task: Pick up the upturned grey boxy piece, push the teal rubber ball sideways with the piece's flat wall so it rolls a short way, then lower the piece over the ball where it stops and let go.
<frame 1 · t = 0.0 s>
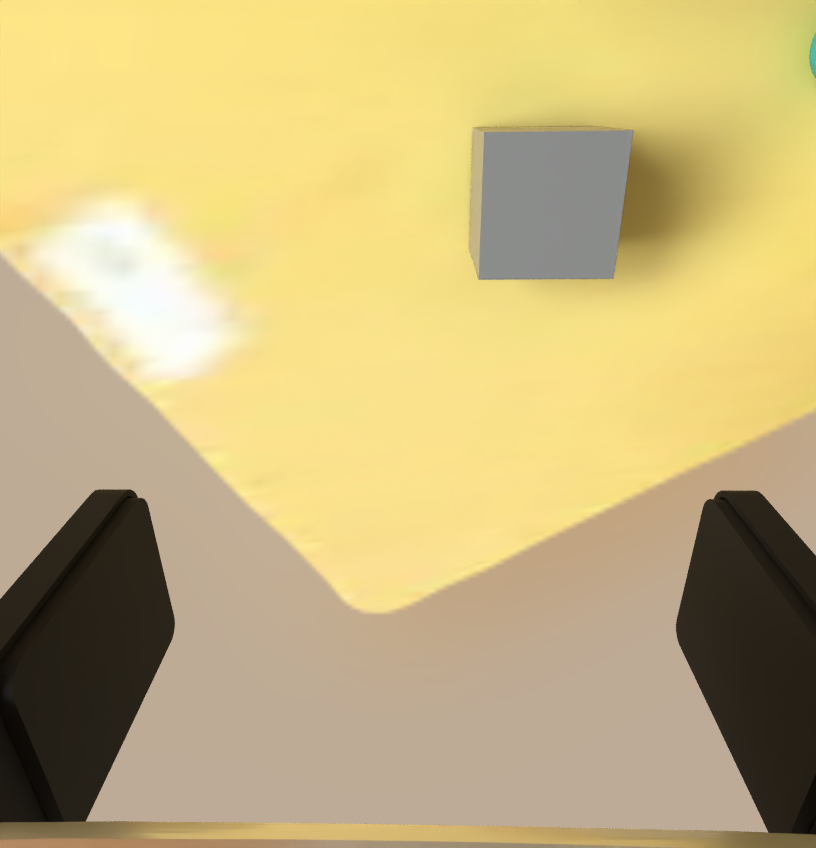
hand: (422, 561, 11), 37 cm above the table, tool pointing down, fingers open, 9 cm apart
grey boxy piece: (528, 190, 42), on the table
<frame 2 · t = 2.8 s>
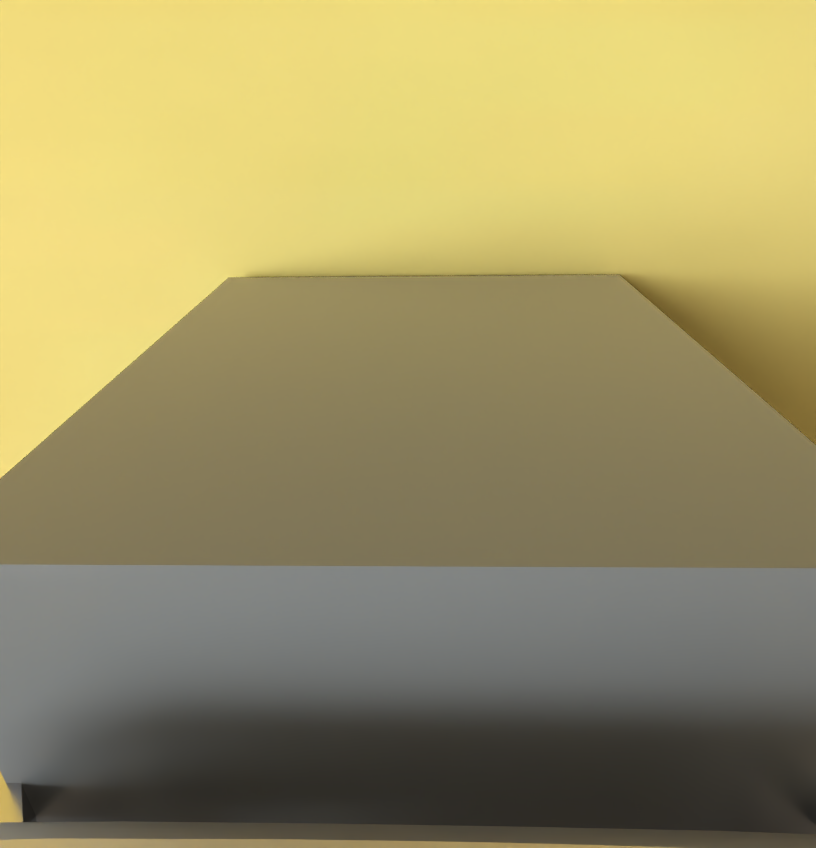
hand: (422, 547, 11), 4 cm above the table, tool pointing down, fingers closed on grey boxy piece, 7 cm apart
grey boxy piece: (422, 447, 14), on the table, touching gripper
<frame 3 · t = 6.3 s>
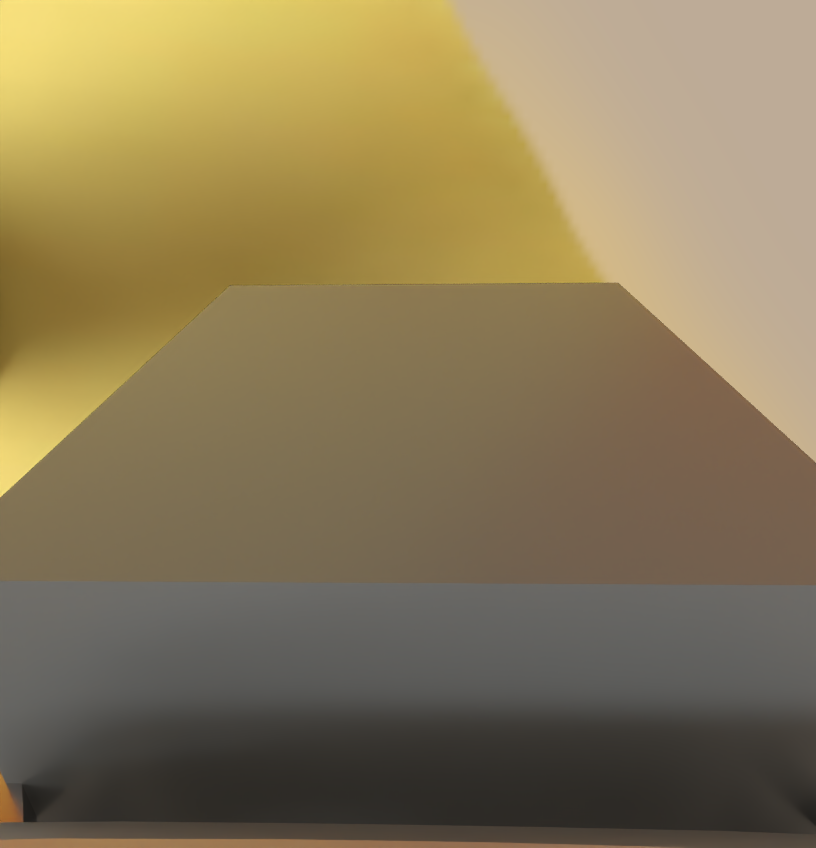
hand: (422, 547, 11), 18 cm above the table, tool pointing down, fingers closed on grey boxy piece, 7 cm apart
grey boxy piece: (422, 453, 14), point 14 cm above the table, touching gripper
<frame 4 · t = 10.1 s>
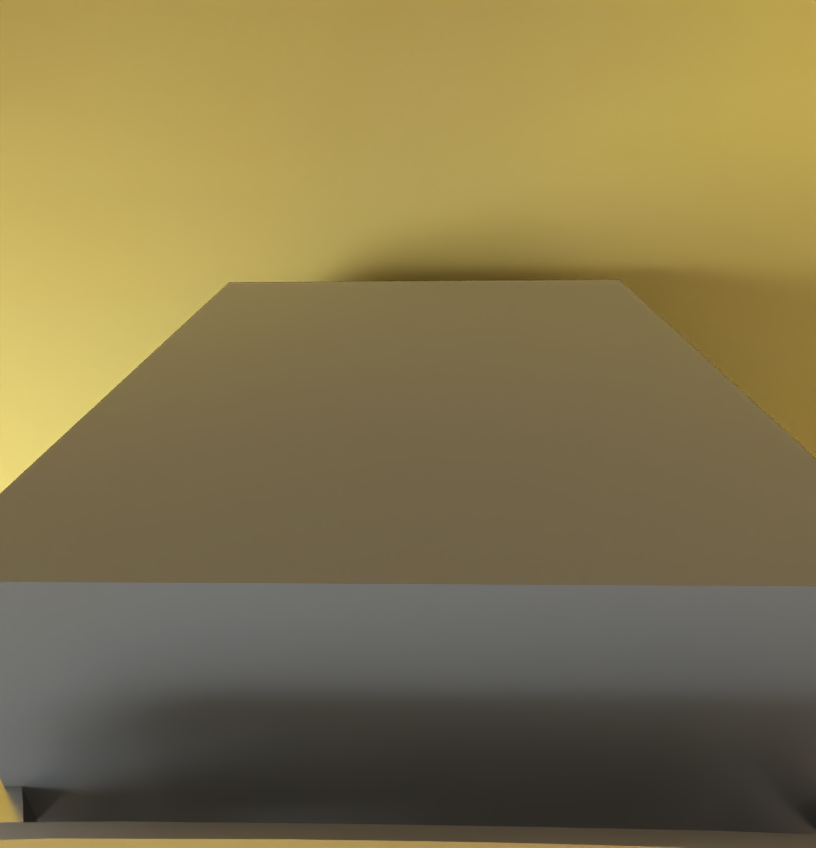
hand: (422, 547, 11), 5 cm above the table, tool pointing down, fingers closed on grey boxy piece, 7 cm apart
grey boxy piece: (423, 451, 14), point 1 cm above the table, touching gripper
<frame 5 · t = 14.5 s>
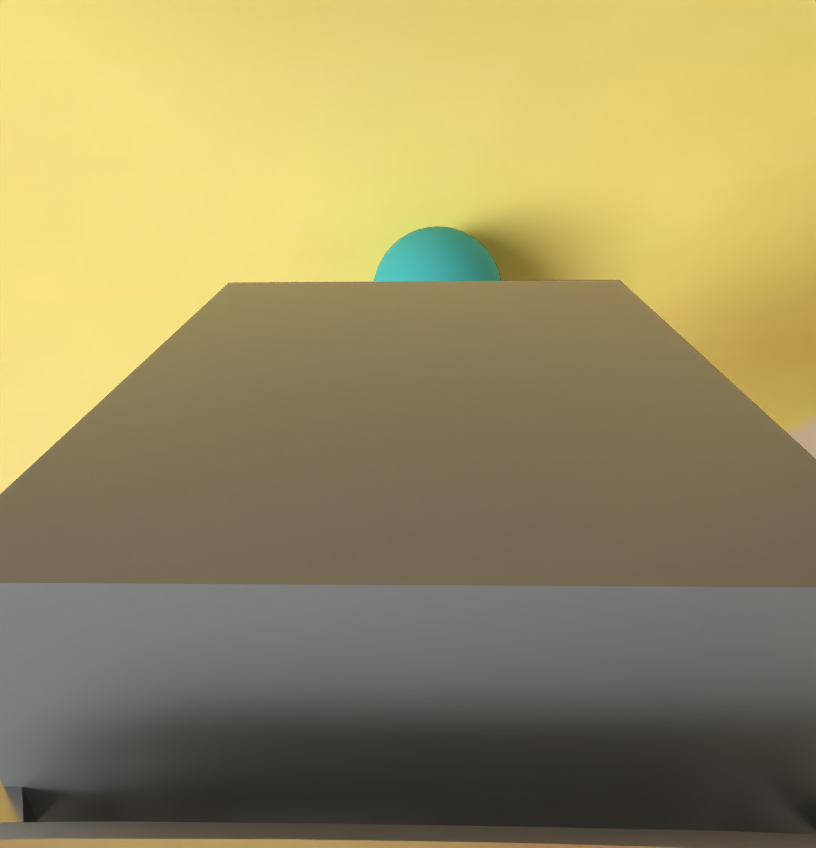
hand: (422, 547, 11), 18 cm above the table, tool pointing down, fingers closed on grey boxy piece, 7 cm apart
grey boxy piece: (423, 451, 14), point 14 cm above the table, touching gripper
ball: (437, 293, 25), on the table
when the fingers open (4 cm above the table, at t = 18.9 s): grey boxy piece stays where it is, on the table.
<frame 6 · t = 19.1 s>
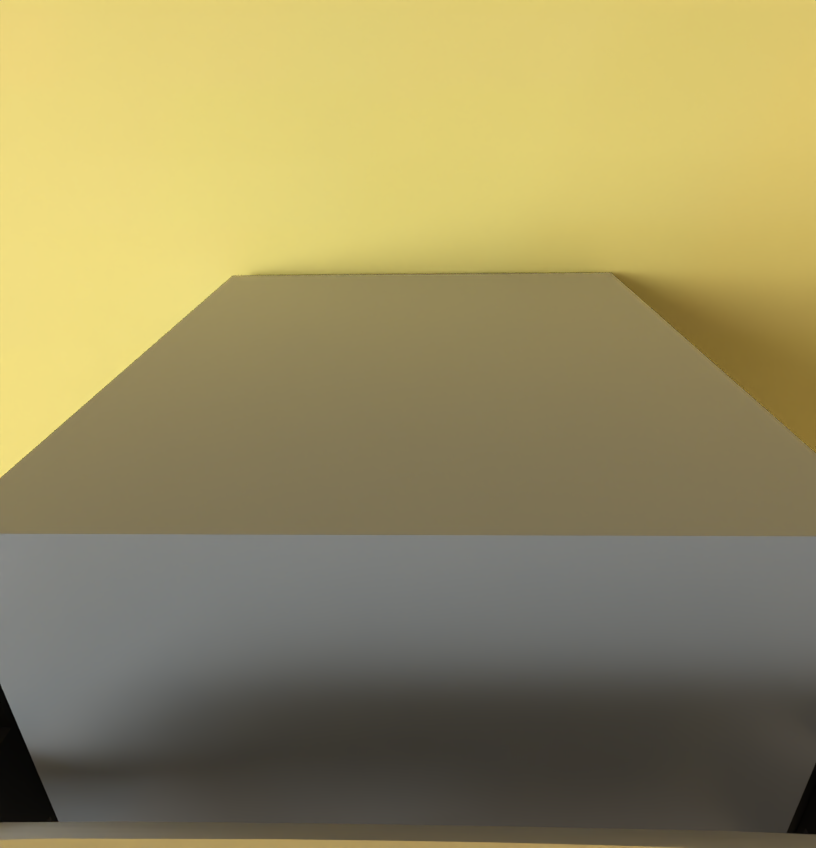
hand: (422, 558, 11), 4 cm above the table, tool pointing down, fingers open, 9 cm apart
grey boxy piece: (421, 441, 15), on the table
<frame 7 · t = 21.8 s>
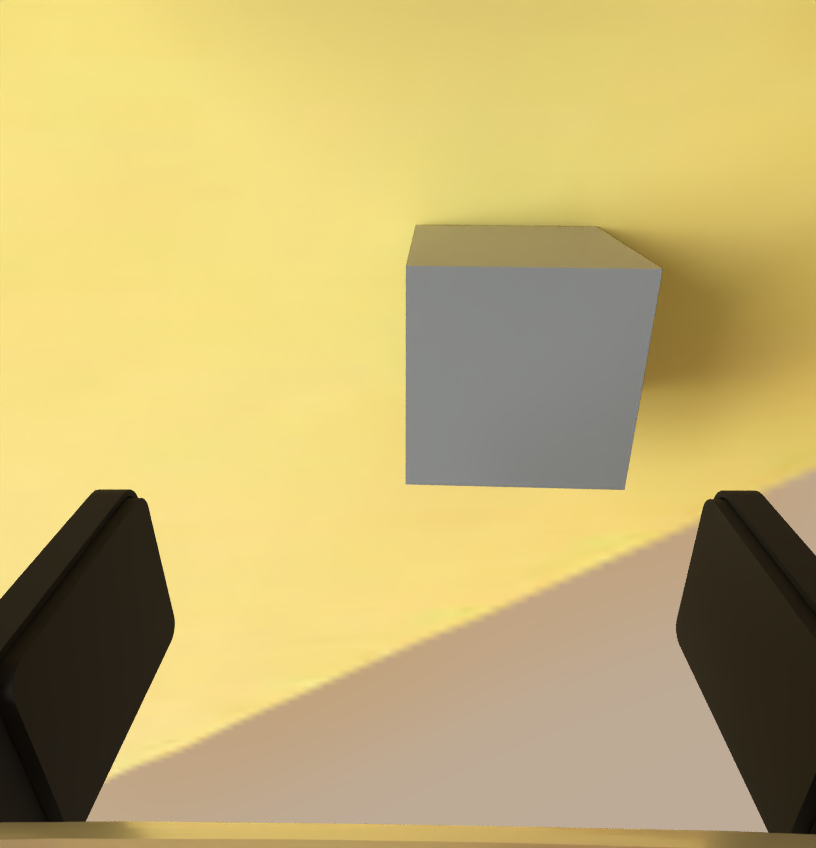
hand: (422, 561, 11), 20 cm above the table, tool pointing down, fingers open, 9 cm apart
grey boxy piece: (499, 313, 29), on the table
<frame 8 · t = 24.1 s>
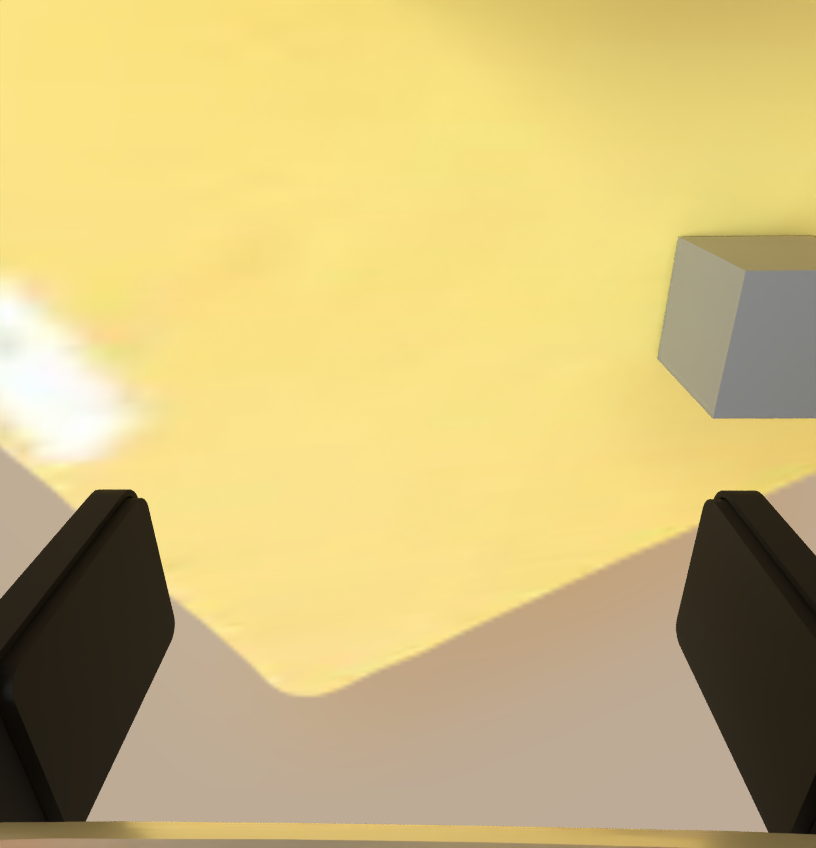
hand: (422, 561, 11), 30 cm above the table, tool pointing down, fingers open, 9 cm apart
grey boxy piece: (730, 299, 39), on the table
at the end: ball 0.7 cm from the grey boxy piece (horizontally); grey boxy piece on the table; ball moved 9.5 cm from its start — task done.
